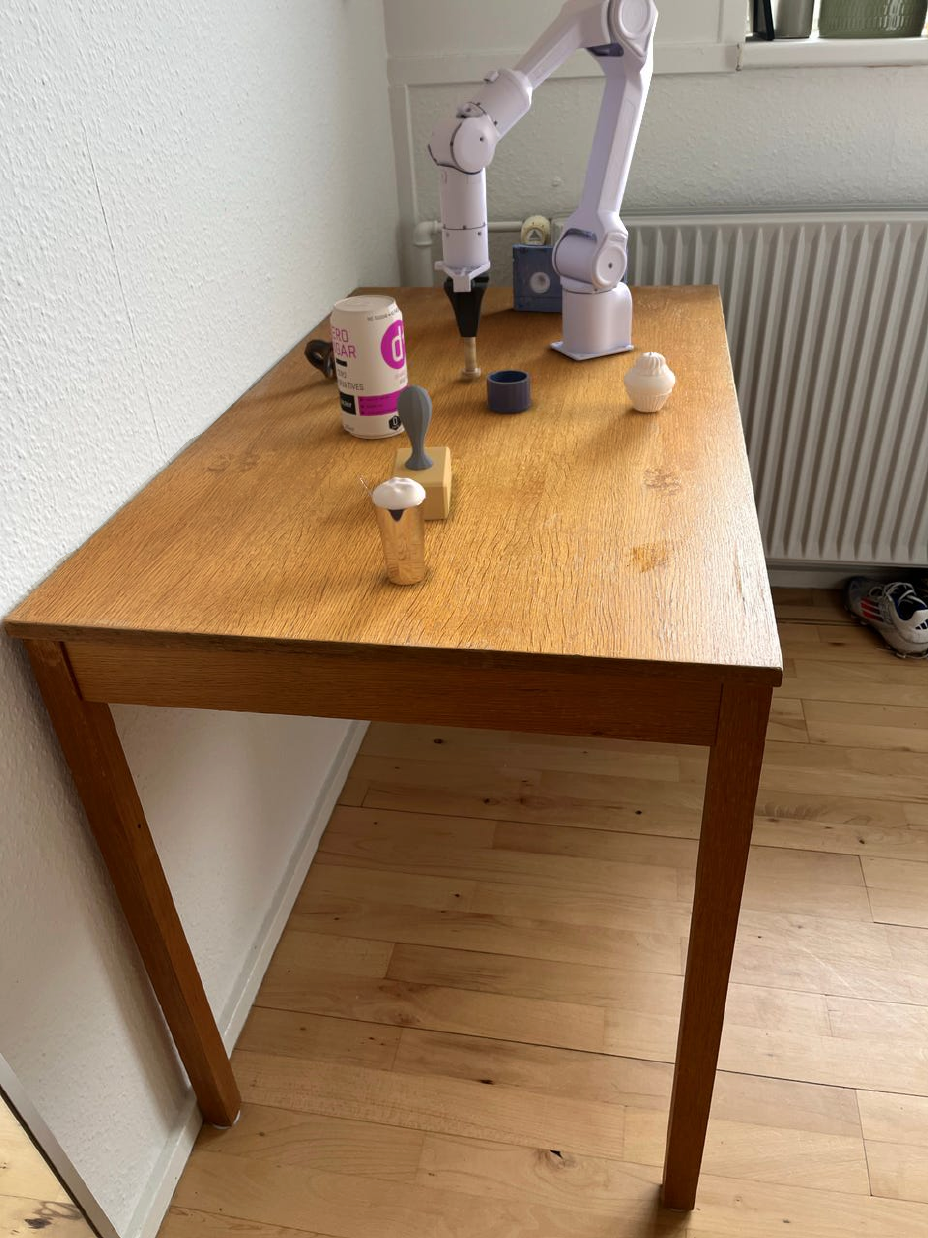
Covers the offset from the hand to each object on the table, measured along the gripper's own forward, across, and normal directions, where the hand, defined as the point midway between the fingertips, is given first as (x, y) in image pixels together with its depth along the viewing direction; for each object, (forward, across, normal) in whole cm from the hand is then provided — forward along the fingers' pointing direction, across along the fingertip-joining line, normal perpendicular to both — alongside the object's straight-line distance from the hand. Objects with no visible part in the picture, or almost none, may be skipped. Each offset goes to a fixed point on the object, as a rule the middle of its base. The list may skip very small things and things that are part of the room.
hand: (469, 334), depth 126 cm
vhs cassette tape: (+6, -33, +13) cm, 36 cm away
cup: (+6, +11, +6) cm, 13 cm away
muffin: (+6, +12, +23) cm, 27 cm away
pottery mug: (+6, 0, -16) cm, 18 cm away
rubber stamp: (+6, +37, -2) cm, 38 cm away
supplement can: (+6, +17, -10) cm, 21 cm away
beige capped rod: (+6, 0, 0) cm, 6 cm away
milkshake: (+6, +53, -2) cm, 54 cm away
